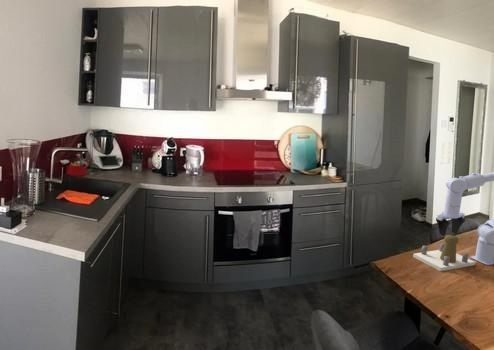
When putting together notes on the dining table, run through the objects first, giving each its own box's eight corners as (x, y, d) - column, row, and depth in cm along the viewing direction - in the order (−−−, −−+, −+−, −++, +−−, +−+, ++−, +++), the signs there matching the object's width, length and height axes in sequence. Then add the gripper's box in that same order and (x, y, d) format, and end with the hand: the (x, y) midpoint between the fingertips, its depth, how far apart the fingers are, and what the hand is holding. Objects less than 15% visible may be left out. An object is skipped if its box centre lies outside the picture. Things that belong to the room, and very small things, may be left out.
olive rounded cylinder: (458, 263, 139) (463, 239, 137) (443, 262, 140) (447, 237, 138) (451, 257, 145) (456, 233, 143) (437, 256, 146) (441, 232, 144)
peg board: (445, 251, 155) (447, 241, 154) (474, 265, 142) (476, 254, 141) (413, 256, 148) (414, 246, 147) (440, 271, 135) (442, 259, 134)
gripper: (456, 201, 152) (451, 229, 155) (433, 203, 147) (428, 232, 150) (470, 205, 146) (465, 234, 149) (447, 208, 141) (442, 238, 143)
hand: (448, 233), depth 149 cm, fingers open, 7 cm apart
